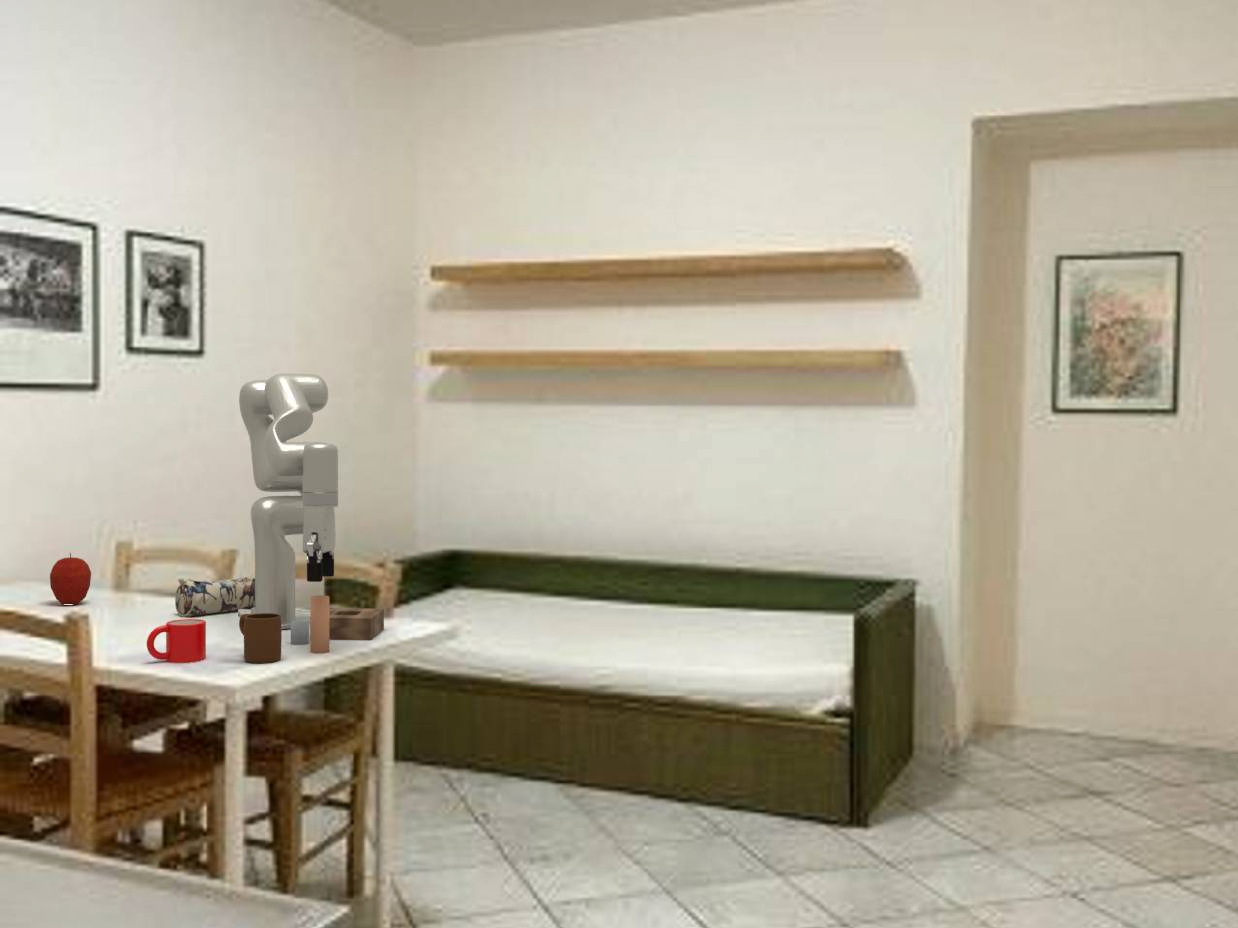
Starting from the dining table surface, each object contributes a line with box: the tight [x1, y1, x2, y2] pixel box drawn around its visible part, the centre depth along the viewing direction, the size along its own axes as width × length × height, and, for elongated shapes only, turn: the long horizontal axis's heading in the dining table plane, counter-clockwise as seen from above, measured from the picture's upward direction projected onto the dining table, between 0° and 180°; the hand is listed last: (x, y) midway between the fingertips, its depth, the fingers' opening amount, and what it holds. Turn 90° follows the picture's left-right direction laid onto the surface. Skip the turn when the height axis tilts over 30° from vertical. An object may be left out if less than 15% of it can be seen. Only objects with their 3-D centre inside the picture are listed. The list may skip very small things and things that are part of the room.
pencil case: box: [174, 574, 255, 618], centre depth 319 cm, size 22×8×10 cm, turn 137°
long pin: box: [309, 594, 330, 654], centre depth 269 cm, size 4×4×12 cm
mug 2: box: [238, 613, 282, 664], centre depth 260 cm, size 12×8×9 cm, turn 49°
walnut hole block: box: [309, 607, 385, 641], centre depth 290 cm, size 14×14×5 cm
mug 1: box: [146, 618, 207, 664], centre depth 257 cm, size 8×12×8 cm, turn 130°
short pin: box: [290, 619, 310, 646], centre depth 278 cm, size 4×4×5 cm
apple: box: [49, 552, 92, 605], centre depth 328 cm, size 10×10×14 cm
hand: (320, 578), depth 268 cm, fingers open, 9 cm apart
